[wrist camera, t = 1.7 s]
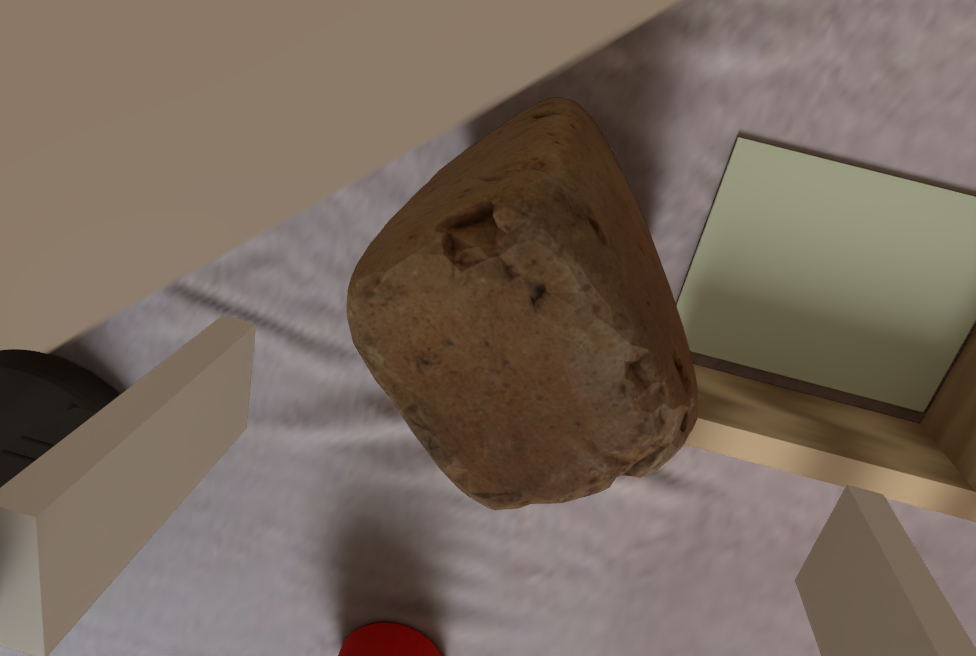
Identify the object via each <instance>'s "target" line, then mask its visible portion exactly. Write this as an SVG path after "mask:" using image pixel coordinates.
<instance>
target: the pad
mask: <svg viewBox="0 0 976 656" xmlns="http://www.w3.org/2000/svg"><path fill="white" fill-rule="evenodd" d="M676 306H677V309H678V312H679V315H680V318H681V321H682V325H683V328H684V331H685V334H686V338H687V341H688V345H689V349H690V351H691V352H695V353H699V354H703V355H706V356H710V357H714V358H718V359H722V360H725V361H729V362H733V363H737V364H741V365H745V366H748V367H752V368H756V369H760V370H764V371H767V372H771V373H775V374H779V375H783V376H786V377H790V378H794V379H798V380H802V381H805V382H809V383H813V384H817V385H821V386H825V387H828V388H832V389H836V390H840V391H844V392H847V393H851V394H855V395H859V396H863V397H866V398H870V399H874V400H878V401H882V402H885V403H889V404H893V405H897V406H901V407H904V408H908V409H912V410H916V411H920V412H924V411H925V409H926V407H927V405H928V404H929V402H930V400H931V398H932V397H933V395H934V393H935V391H936V390H937V388H938V386H939V384H940V383H941V381H942V379H943V377H944V376H945V374H946V372H947V370H948V369H949V367H950V365H951V363H952V361H953V360H954V358H955V356H956V354H957V353H958V351H959V349H960V347H961V346H962V344H963V342H964V340H965V339H966V337H967V335H968V333H969V332H970V330H971V328H972V326H973V325H974V323H975V321H976V196H972V195H968V194H964V193H960V192H956V191H952V190H948V189H944V188H940V187H936V186H932V185H928V184H924V183H920V182H916V181H912V180H908V179H904V178H900V177H896V176H892V175H888V174H884V173H880V172H876V171H872V170H868V169H864V168H860V167H856V166H852V165H848V164H844V163H840V162H836V161H832V160H828V159H824V158H820V157H816V156H812V155H808V154H804V153H800V152H796V151H792V150H788V149H784V148H780V147H776V146H773V145H769V144H765V143H761V142H757V141H753V140H749V139H745V138H741V137H737V140H736V143H735V145H734V148H733V151H732V154H731V156H730V159H729V162H728V165H727V167H726V170H725V173H724V175H723V178H722V181H721V184H720V186H719V189H718V192H717V195H716V197H715V200H714V203H713V205H712V208H711V211H710V214H709V216H708V219H707V222H706V225H705V227H704V230H703V233H702V235H701V238H700V241H699V244H698V246H697V249H696V252H695V255H694V257H693V260H692V263H691V265H690V268H689V271H688V274H687V276H686V279H685V282H684V285H683V287H682V290H681V293H680V296H679V298H678V301H677V304H676Z"/></svg>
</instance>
